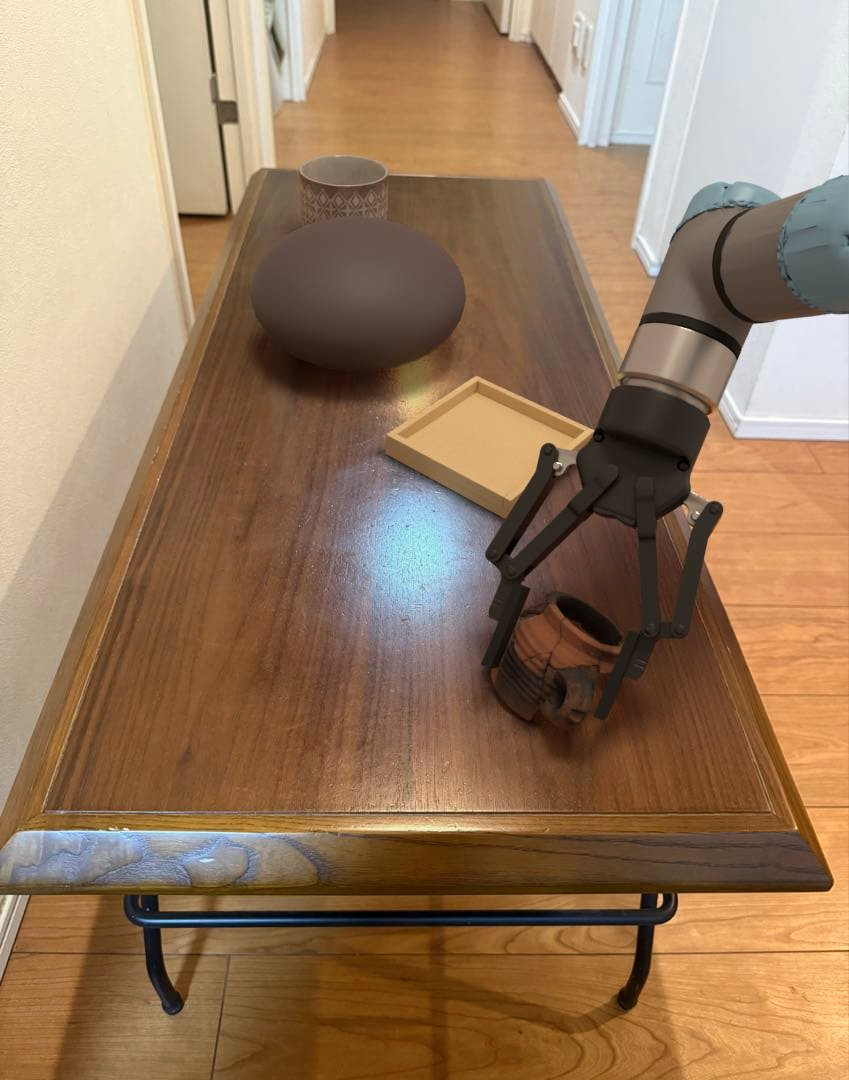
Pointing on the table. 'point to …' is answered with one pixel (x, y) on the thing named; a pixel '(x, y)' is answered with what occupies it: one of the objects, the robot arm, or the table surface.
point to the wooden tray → (483, 442)
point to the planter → (342, 188)
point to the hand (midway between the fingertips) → (544, 690)
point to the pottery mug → (557, 660)
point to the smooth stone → (358, 294)
